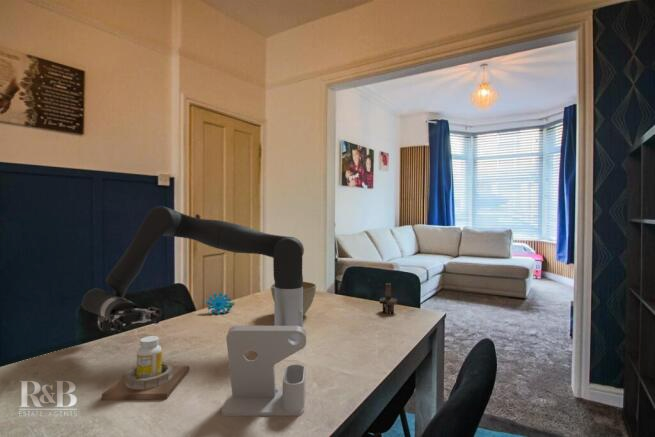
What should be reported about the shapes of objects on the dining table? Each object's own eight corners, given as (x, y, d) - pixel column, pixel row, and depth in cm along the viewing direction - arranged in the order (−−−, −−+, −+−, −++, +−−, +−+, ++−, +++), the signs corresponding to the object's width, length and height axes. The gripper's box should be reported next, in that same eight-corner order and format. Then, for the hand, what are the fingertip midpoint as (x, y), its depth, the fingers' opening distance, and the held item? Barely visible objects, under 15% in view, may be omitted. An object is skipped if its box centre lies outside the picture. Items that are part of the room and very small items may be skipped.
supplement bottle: (142, 386, 81) (142, 344, 80) (132, 379, 84) (132, 339, 84) (165, 378, 85) (165, 338, 85) (155, 371, 88) (155, 333, 88)
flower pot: (324, 313, 145) (324, 284, 145) (297, 324, 130) (297, 292, 130) (289, 306, 155) (290, 279, 155) (261, 316, 140) (261, 286, 139)
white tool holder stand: (307, 391, 82) (307, 313, 81) (305, 416, 72) (306, 328, 71) (232, 391, 81) (232, 313, 81) (219, 416, 71) (219, 327, 71)
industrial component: (387, 308, 153) (388, 281, 153) (400, 312, 148) (401, 283, 147) (372, 312, 147) (373, 283, 147) (385, 316, 142) (386, 286, 142)
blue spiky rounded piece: (205, 312, 140) (208, 290, 147) (204, 319, 144) (207, 298, 151) (233, 314, 143) (235, 292, 150) (231, 321, 147) (234, 300, 154)
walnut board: (189, 370, 92) (189, 358, 91) (166, 398, 78) (166, 384, 78) (134, 371, 91) (134, 358, 91) (101, 399, 77) (101, 385, 77)
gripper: (89, 303, 95) (108, 314, 84) (145, 294, 105) (168, 303, 94) (90, 331, 95) (108, 346, 84) (145, 319, 105) (169, 331, 94)
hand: (140, 323), depth 89 cm, fingers open, 8 cm apart
